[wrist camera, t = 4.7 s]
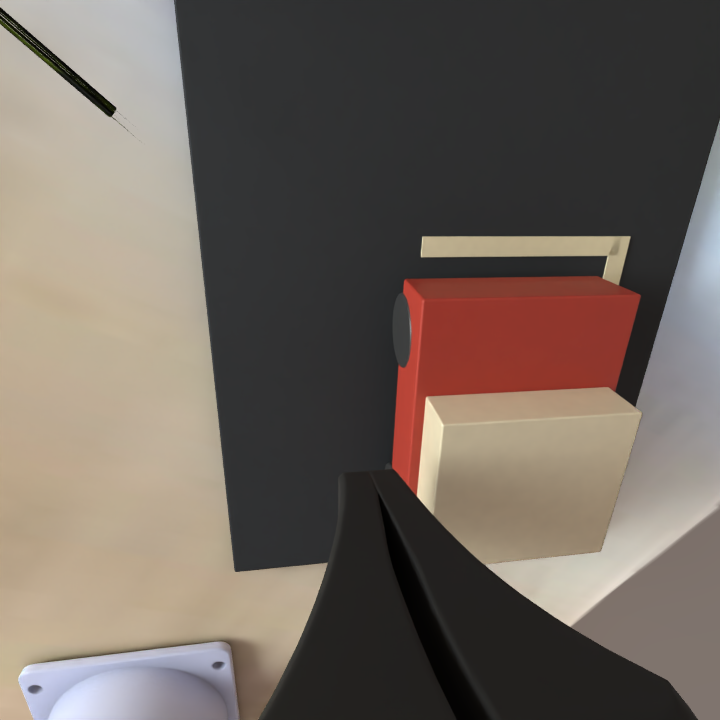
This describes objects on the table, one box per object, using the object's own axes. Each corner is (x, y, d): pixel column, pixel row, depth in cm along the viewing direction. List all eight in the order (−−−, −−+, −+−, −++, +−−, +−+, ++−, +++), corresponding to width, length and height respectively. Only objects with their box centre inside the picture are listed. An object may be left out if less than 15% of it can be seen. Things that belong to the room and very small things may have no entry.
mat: (591, 527, 21) (598, 536, 21) (235, 562, 19) (234, 574, 18) (756, -54, 13) (776, -62, 13) (165, -114, 11) (159, -127, 10)
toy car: (381, 508, 18) (534, 494, 19) (410, 610, 14) (600, 587, 15) (394, 270, 15) (582, 268, 16) (438, 319, 11) (687, 313, 12)
